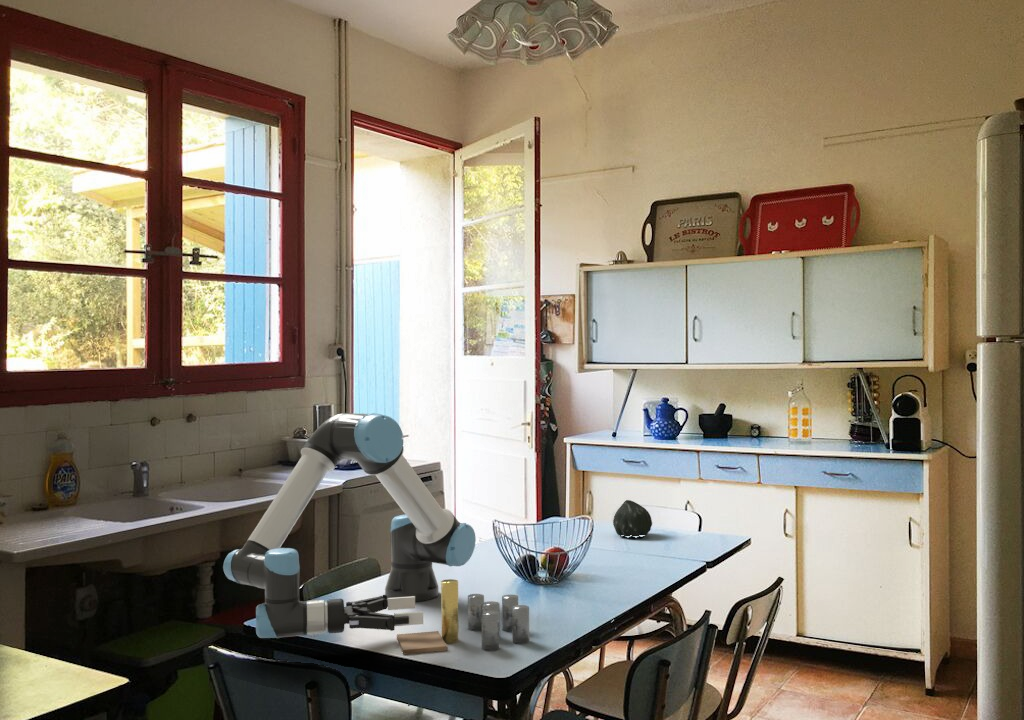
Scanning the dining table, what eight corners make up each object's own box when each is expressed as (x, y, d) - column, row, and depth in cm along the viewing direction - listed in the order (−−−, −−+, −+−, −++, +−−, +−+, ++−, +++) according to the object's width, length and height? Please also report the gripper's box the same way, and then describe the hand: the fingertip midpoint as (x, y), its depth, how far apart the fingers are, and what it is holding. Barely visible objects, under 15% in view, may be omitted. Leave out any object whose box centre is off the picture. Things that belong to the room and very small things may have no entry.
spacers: (466, 626, 218) (466, 594, 218) (513, 622, 221) (512, 591, 221) (484, 651, 198) (483, 616, 198) (534, 647, 201) (534, 612, 201)
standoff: (440, 638, 208) (439, 580, 208) (456, 637, 209) (456, 578, 209) (443, 644, 204) (442, 583, 204) (460, 642, 205) (459, 582, 205)
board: (396, 638, 208) (396, 634, 208) (438, 635, 211) (438, 631, 211) (403, 654, 197) (403, 649, 197) (446, 650, 199) (446, 646, 199)
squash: (657, 519, 339) (631, 490, 340) (660, 527, 324) (633, 497, 325) (630, 543, 340) (604, 514, 341) (631, 552, 325) (604, 522, 326)
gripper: (324, 618, 211) (411, 611, 217) (328, 650, 187) (426, 641, 192) (324, 587, 211) (411, 581, 217) (328, 614, 187) (426, 607, 192)
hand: (419, 609), depth 205 cm, fingers open, 13 cm apart
